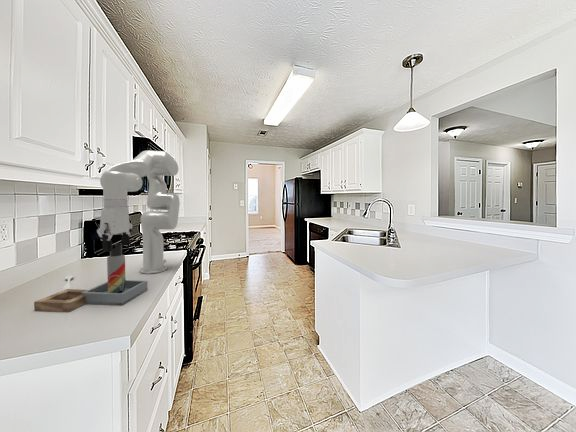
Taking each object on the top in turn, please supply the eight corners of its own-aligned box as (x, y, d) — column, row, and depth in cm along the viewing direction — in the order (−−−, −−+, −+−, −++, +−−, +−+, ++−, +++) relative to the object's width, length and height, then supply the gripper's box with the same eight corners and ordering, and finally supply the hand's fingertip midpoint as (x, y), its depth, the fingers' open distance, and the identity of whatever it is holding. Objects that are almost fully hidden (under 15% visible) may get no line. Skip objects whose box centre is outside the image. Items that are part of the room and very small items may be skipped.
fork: (61, 296, 101) (61, 290, 101) (66, 277, 117) (66, 272, 117) (71, 294, 103) (70, 288, 102) (74, 276, 119) (74, 271, 119)
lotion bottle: (116, 297, 93) (115, 245, 91) (104, 296, 94) (102, 244, 93) (129, 292, 98) (128, 242, 97) (117, 291, 99) (116, 242, 98)
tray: (112, 288, 104) (112, 279, 103) (147, 290, 103) (147, 280, 103) (81, 303, 89) (81, 292, 88) (122, 305, 88) (122, 294, 88)
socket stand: (67, 296, 94) (67, 289, 94) (97, 297, 94) (97, 290, 94) (34, 310, 82) (34, 301, 82) (69, 311, 82) (69, 303, 82)
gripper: (122, 203, 102) (123, 243, 104) (87, 204, 85) (88, 253, 87) (139, 203, 102) (140, 244, 104) (108, 205, 85) (109, 254, 86)
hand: (116, 248), depth 95 cm, fingers open, 9 cm apart
